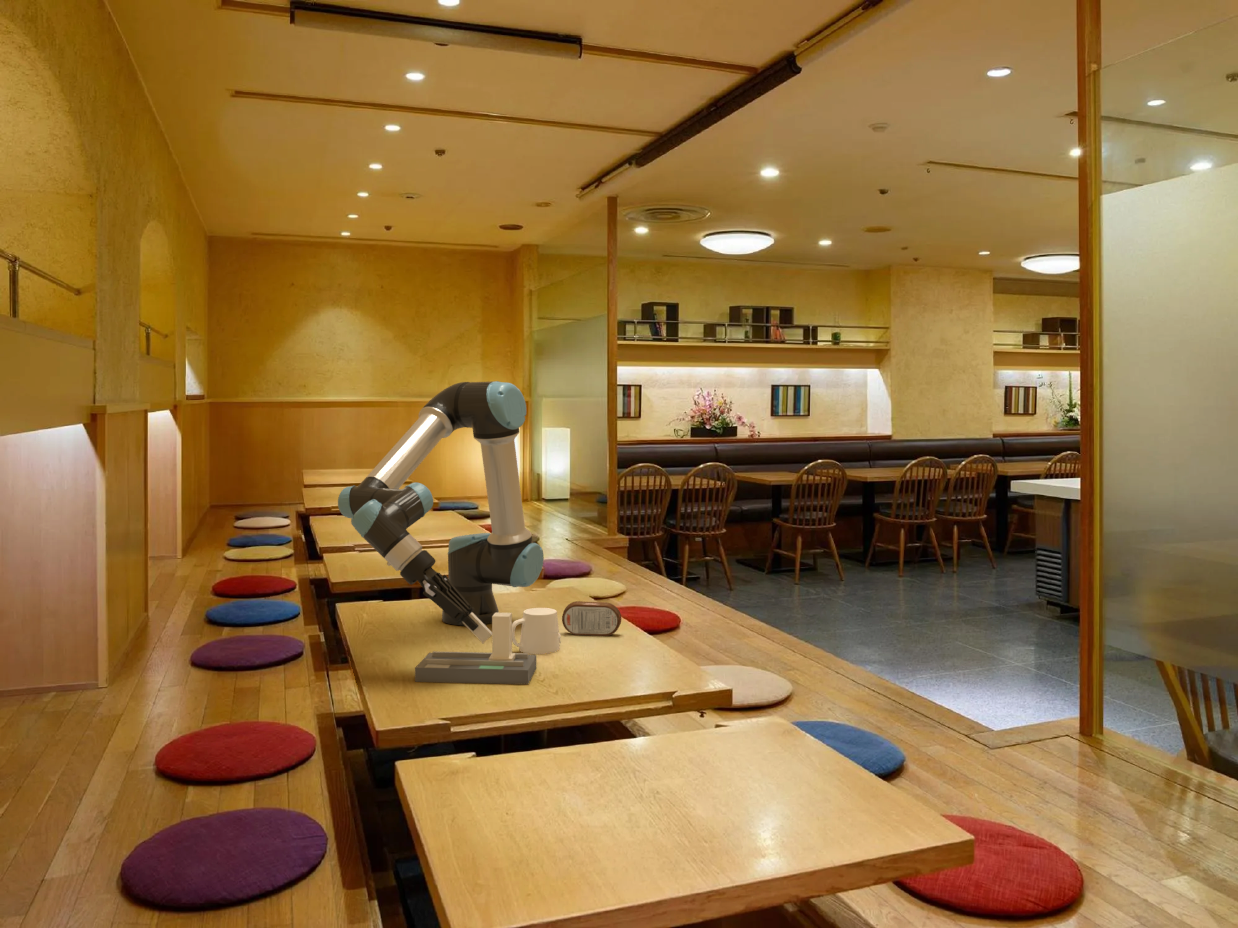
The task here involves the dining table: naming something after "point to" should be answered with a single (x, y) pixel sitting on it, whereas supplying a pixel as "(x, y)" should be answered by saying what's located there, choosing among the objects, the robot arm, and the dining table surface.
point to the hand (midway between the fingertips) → (488, 638)
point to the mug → (538, 631)
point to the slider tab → (502, 637)
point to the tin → (591, 618)
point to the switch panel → (475, 668)
